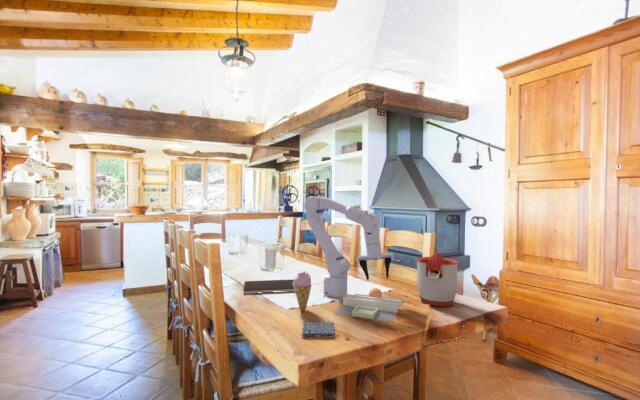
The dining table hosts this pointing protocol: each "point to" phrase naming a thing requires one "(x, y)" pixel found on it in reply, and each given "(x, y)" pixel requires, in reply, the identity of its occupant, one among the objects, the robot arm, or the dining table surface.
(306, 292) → the ice cream cone
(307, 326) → the woven mat
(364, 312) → the dish
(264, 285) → the hardcover book
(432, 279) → the citrus juicer
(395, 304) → the grey ridged board
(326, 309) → the dining table surface
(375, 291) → the ball
